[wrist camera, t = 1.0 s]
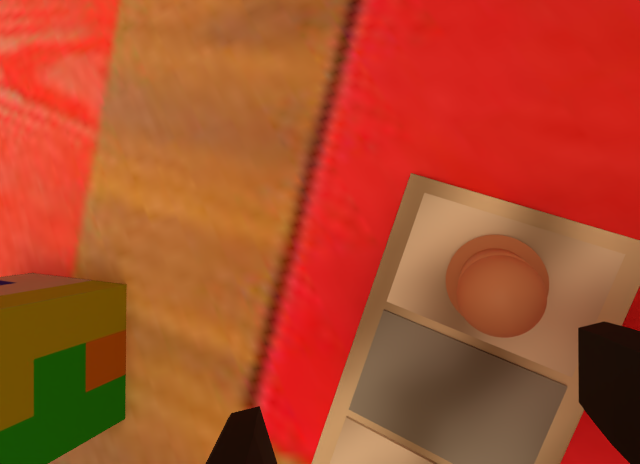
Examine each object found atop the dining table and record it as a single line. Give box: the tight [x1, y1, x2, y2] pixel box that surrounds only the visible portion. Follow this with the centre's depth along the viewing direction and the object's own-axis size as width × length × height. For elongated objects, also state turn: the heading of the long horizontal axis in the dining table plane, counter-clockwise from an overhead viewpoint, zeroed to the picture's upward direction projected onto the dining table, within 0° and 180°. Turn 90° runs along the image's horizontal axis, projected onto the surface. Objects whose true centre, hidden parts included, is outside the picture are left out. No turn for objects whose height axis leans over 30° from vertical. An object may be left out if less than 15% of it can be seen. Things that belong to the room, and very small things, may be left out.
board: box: [312, 173, 640, 464], centre depth 21 cm, size 11×27×1 cm, turn 162°
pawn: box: [446, 235, 549, 338], centre depth 17 cm, size 4×4×6 cm
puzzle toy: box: [0, 273, 126, 464], centre depth 27 cm, size 10×10×10 cm
